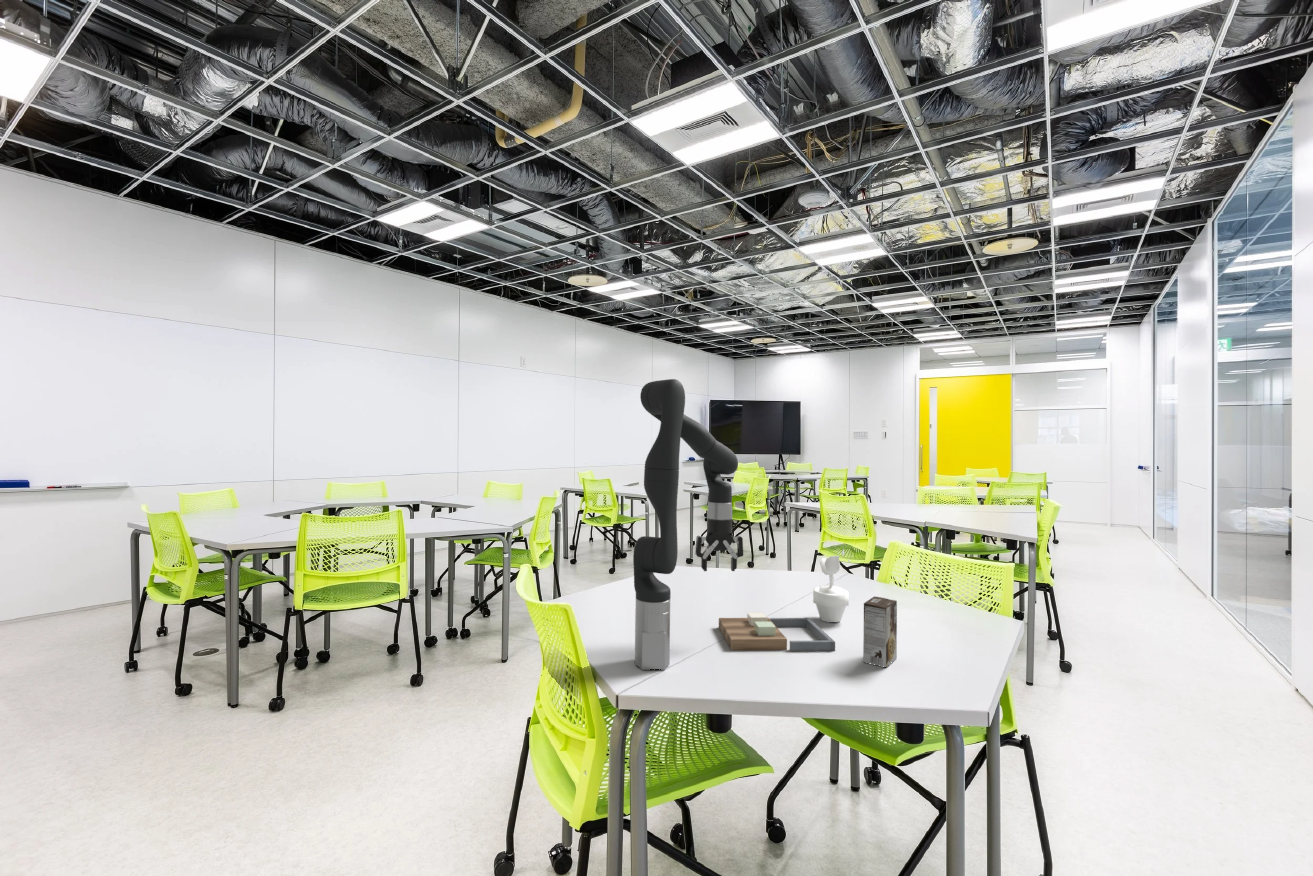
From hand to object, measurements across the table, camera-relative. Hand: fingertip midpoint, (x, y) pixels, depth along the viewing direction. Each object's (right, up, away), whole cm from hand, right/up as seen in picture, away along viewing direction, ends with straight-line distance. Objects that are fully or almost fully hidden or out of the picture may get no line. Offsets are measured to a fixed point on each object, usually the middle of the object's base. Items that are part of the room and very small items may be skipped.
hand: (719, 570), depth 172 cm
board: (+10, -20, -1) cm, 22 cm away
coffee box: (+42, -21, -17) cm, 50 cm away
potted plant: (+39, -21, +19) cm, 48 cm away
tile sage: (+13, -17, -5) cm, 22 cm away
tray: (+24, -20, 0) cm, 31 cm away
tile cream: (+12, -17, +4) cm, 22 cm away
